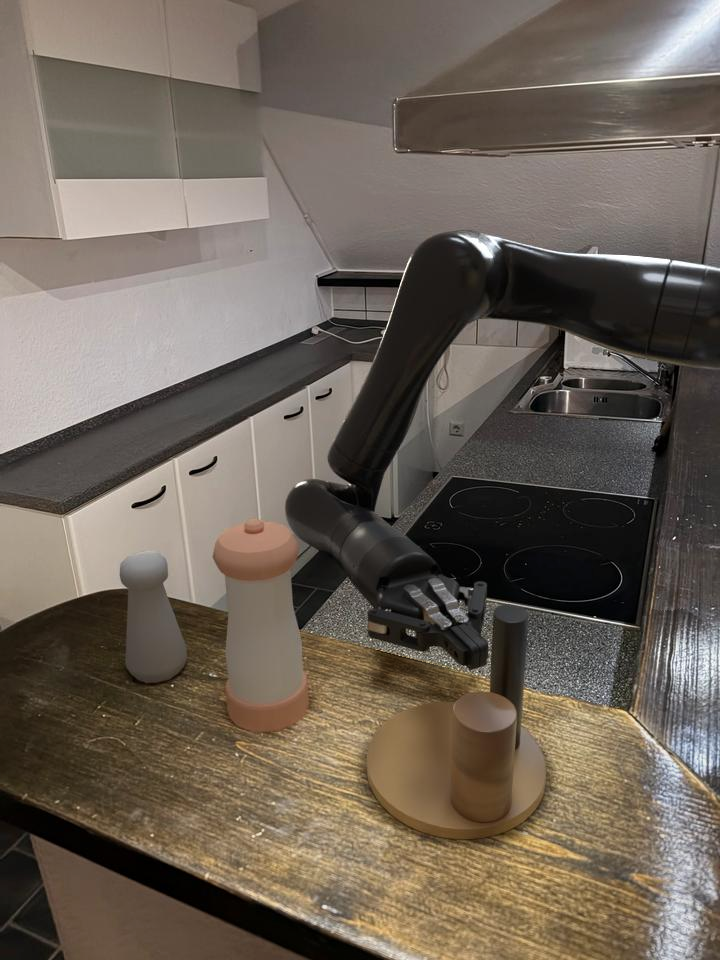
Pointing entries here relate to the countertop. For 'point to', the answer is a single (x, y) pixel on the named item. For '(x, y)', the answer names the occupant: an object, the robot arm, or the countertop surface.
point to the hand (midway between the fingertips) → (479, 658)
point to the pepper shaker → (261, 626)
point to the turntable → (465, 751)
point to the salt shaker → (150, 620)
